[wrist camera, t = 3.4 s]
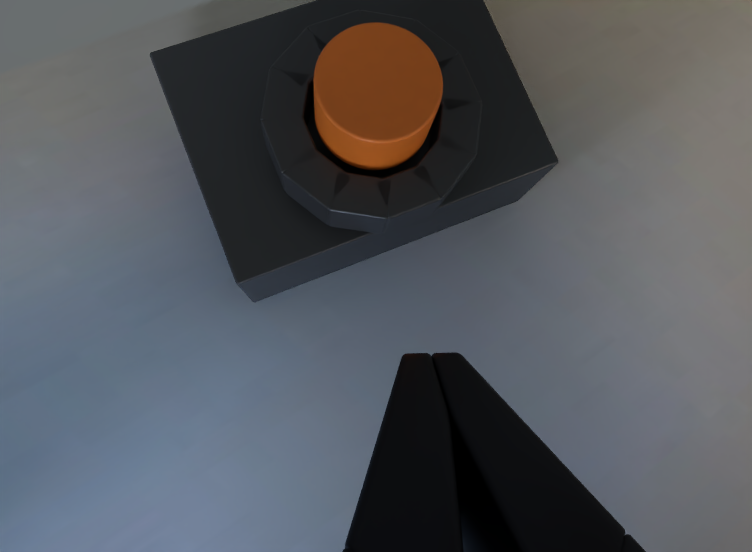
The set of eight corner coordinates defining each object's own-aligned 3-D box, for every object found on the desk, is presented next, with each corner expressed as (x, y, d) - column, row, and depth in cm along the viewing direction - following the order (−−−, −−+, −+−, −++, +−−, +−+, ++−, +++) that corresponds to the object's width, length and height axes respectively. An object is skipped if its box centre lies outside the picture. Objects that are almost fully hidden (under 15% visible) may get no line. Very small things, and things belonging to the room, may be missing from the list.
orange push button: (403, 48, 18) (413, 5, 16) (447, 148, 18) (464, 117, 16) (297, 84, 18) (293, 43, 15) (340, 187, 17) (342, 160, 15)
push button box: (439, 25, 25) (475, -88, 19) (520, 204, 23) (586, 144, 18) (179, 111, 23) (130, 18, 17) (254, 306, 22) (229, 279, 16)
